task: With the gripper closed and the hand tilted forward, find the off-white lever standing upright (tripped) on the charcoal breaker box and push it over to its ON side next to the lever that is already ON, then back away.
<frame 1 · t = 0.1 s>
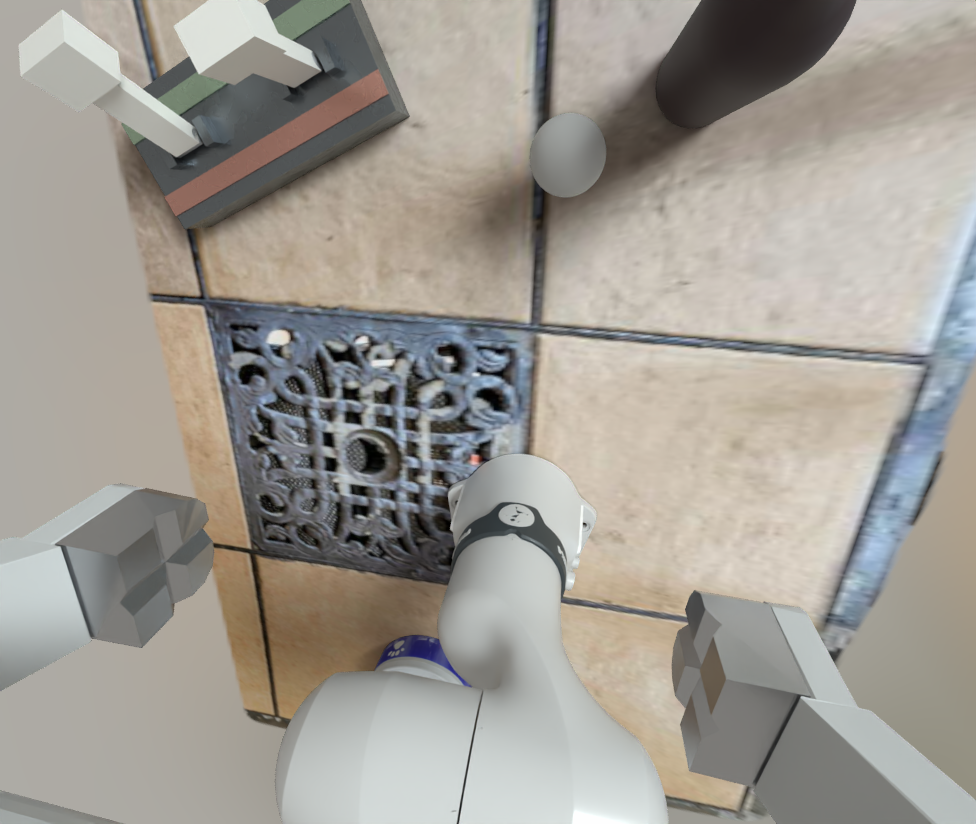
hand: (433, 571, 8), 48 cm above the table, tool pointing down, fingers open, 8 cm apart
lightbulb: (569, 161, 49), on the table
on lever: (127, 102, 43), point 10 cm above the table, hinge at 32.0°
dog bowl: (427, 668, 80), on the table
tripped lever: (267, 54, 39), point 11 cm above the table, hinge at 0.0°
wine bottle: (696, 83, 44), on the table
breaker box: (328, 80, 49), on the table
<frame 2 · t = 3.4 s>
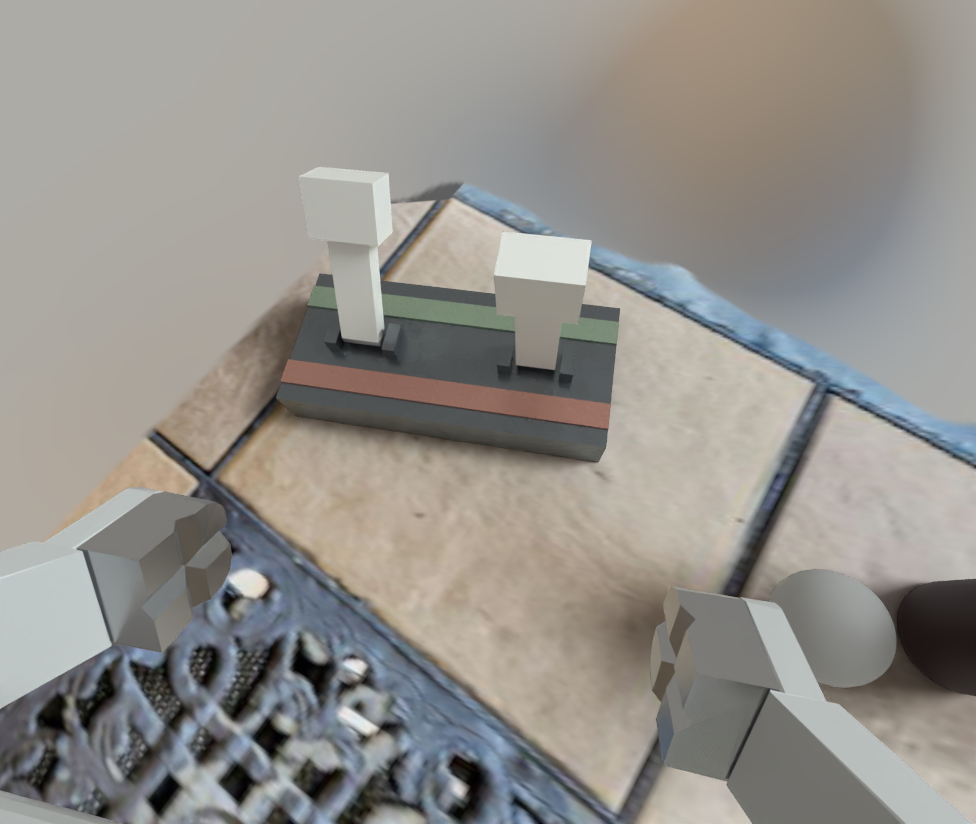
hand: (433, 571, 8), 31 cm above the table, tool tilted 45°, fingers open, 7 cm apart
lightbulb: (763, 622, 36), on the table
on lever: (355, 267, 37), point 10 cm above the table, hinge at 32.0°
tripped lever: (539, 319, 34), point 11 cm above the table, hinge at 0.0°
wine bottle: (946, 635, 35), on the table
breaker box: (535, 385, 44), on the table
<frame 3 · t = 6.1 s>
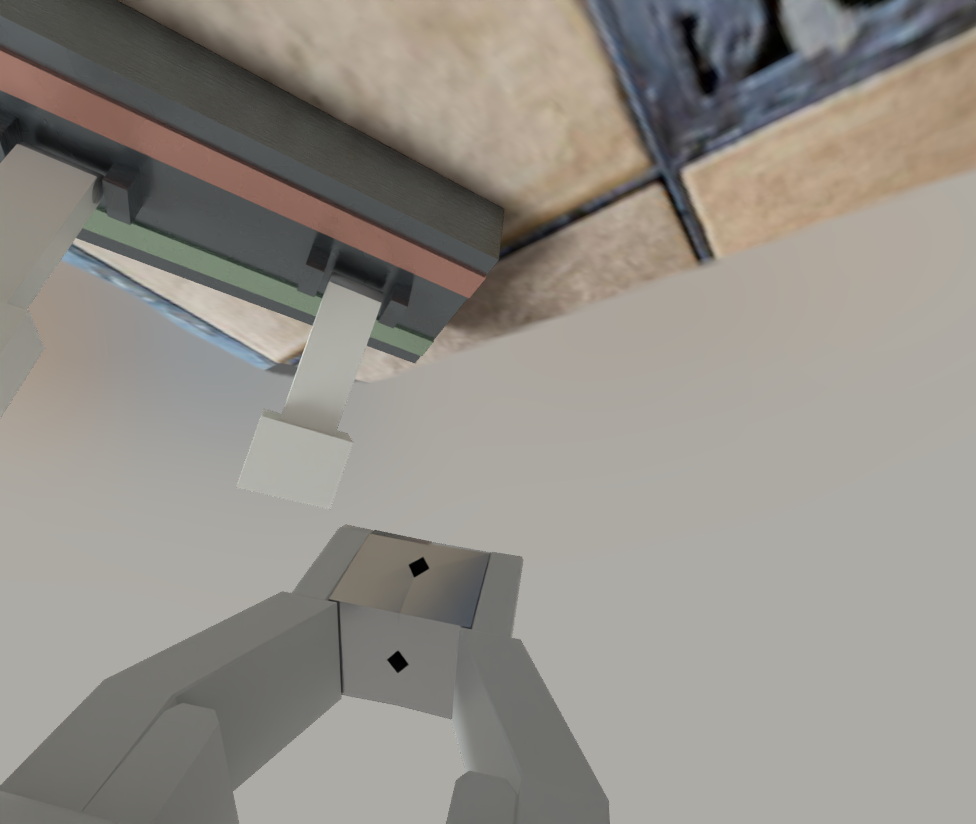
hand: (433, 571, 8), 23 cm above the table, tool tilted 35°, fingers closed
on lever: (321, 386, 29), point 10 cm above the table, hinge at 32.0°
breaker box: (109, 111, 26), on the table
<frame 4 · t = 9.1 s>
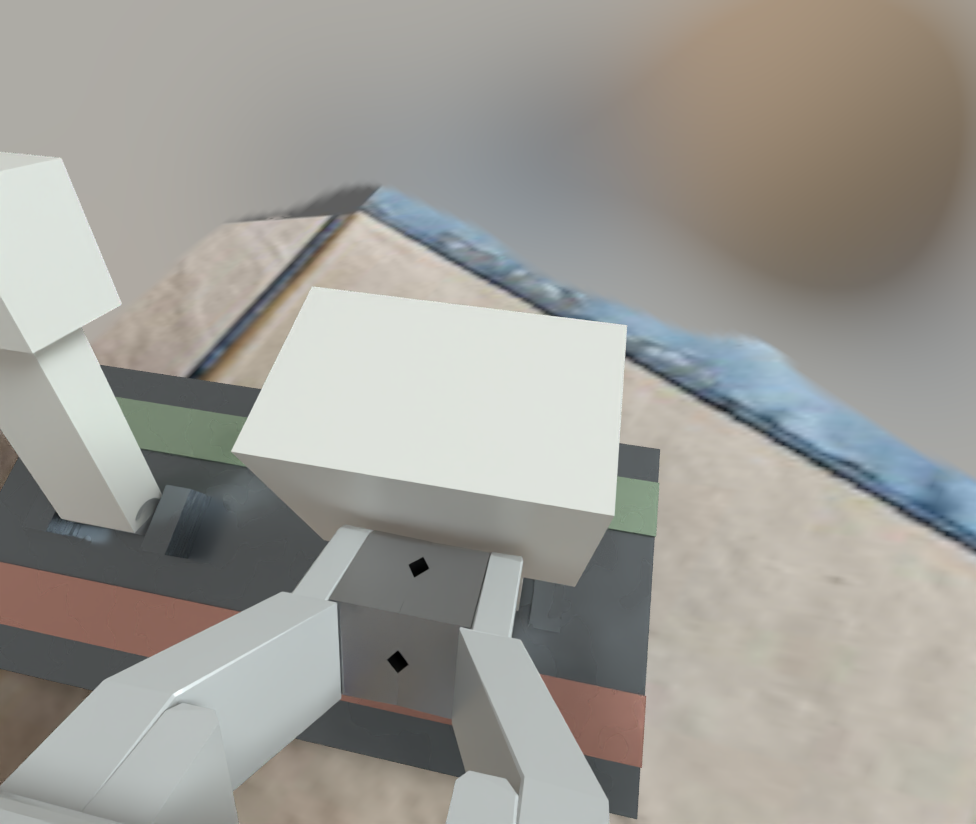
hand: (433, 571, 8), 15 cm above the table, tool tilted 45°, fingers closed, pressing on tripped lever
on lever: (42, 384, 16), point 10 cm above the table, hinge at 32.0°
tripped lever: (468, 526, 13), point 11 cm above the table, hinge at 9.1°, touching gripper
breaker box: (487, 586, 22), on the table
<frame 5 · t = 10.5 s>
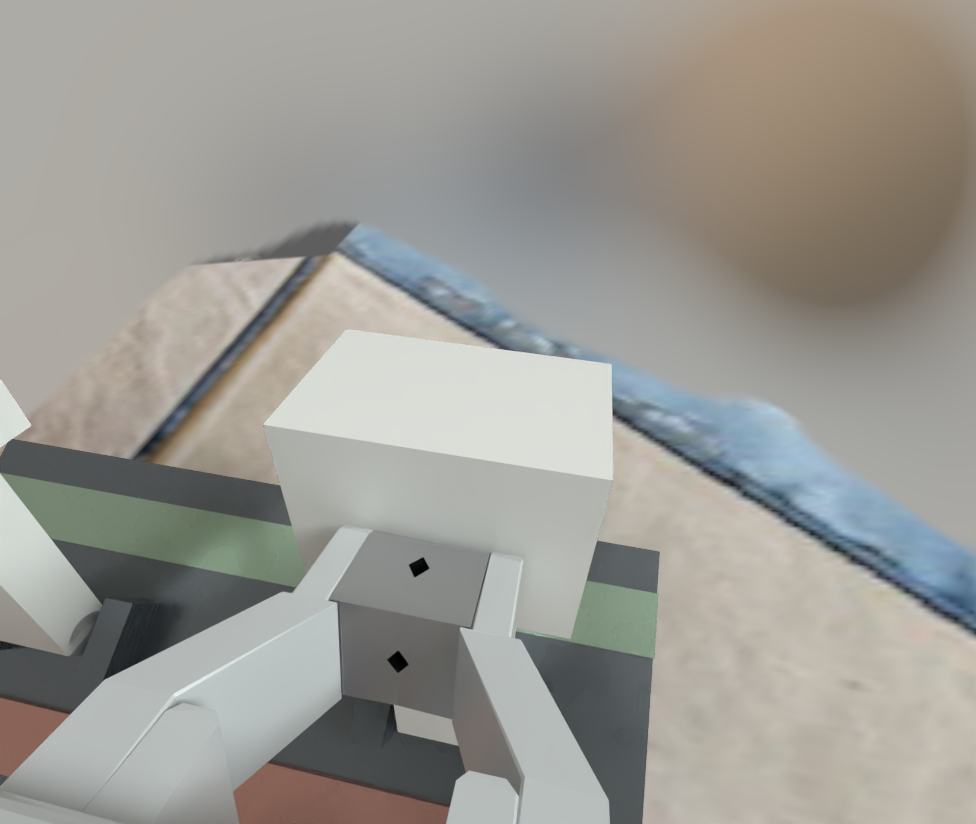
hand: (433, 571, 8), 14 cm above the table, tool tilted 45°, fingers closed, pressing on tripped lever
tripped lever: (454, 610, 12), point 10 cm above the table, hinge at 33.0°, touching gripper
breaker box: (469, 687, 20), on the table
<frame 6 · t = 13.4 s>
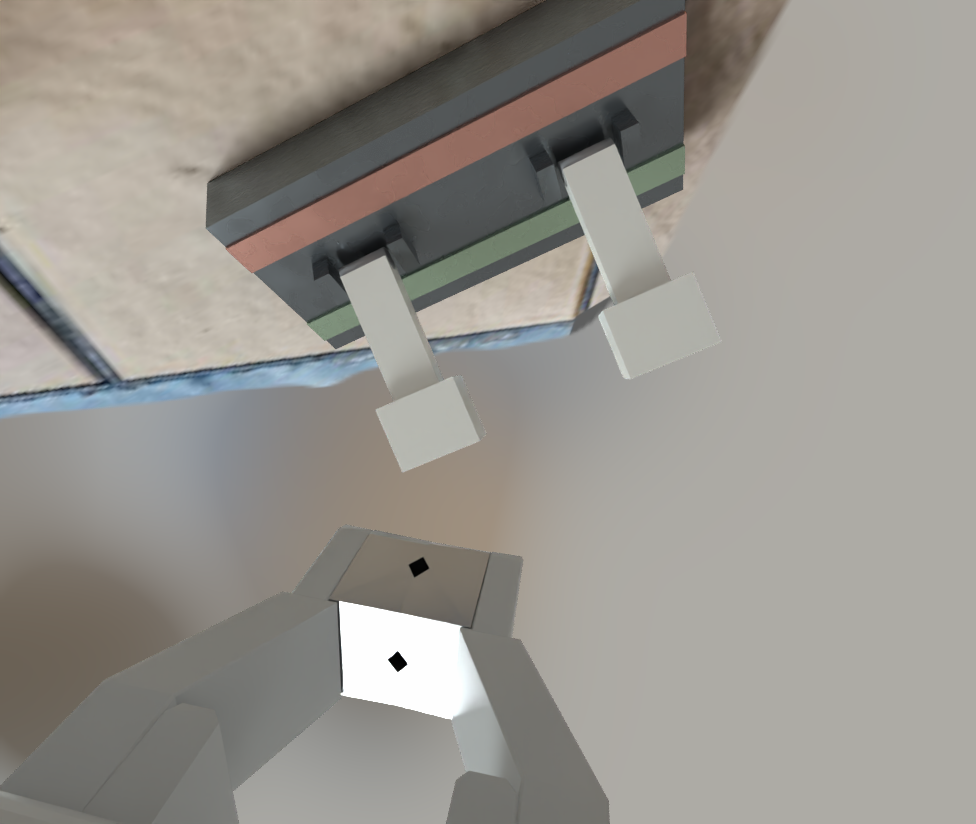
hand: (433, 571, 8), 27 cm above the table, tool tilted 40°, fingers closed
on lever: (626, 256, 28), point 10 cm above the table, hinge at 32.0°
tripped lever: (404, 355, 31), point 10 cm above the table, hinge at 33.1°
breaker box: (356, 216, 33), on the table
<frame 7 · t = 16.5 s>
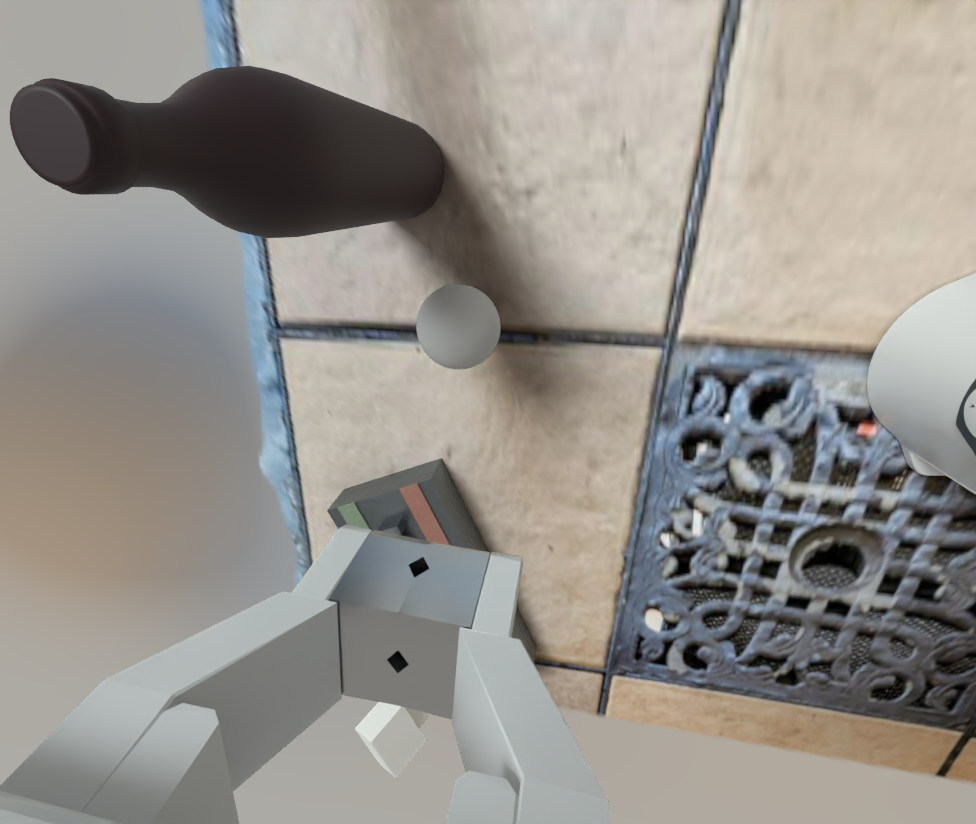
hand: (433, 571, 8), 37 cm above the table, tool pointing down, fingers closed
lightbulb: (479, 304, 44), on the table
on lever: (423, 696, 51), point 10 cm above the table, hinge at 32.0°
wine bottle: (404, 171, 41), on the table
breaker box: (416, 520, 55), on the table
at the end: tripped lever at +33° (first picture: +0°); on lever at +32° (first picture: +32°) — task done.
